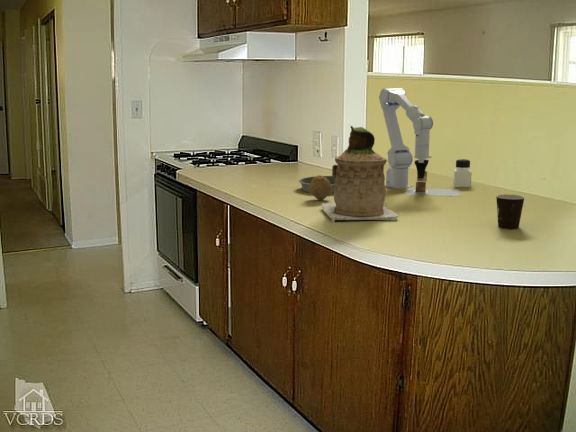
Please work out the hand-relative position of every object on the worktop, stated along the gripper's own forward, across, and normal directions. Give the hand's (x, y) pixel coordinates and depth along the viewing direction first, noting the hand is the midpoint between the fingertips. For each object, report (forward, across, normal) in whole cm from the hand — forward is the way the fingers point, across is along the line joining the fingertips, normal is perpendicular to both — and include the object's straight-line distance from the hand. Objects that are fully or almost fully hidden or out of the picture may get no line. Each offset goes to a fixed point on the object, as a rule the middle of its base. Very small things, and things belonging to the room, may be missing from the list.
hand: (421, 177), depth 271 cm
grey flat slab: (+6, 0, -5) cm, 8 cm away
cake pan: (+7, +1, +41) cm, 41 cm away
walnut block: (+6, 0, 0) cm, 6 cm away
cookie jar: (+7, -48, +20) cm, 52 cm away
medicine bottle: (+7, +19, -18) cm, 27 cm away
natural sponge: (+7, -23, +39) cm, 46 cm away
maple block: (+1, 0, 0) cm, 1 cm away
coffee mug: (+7, -60, -29) cm, 67 cm away
